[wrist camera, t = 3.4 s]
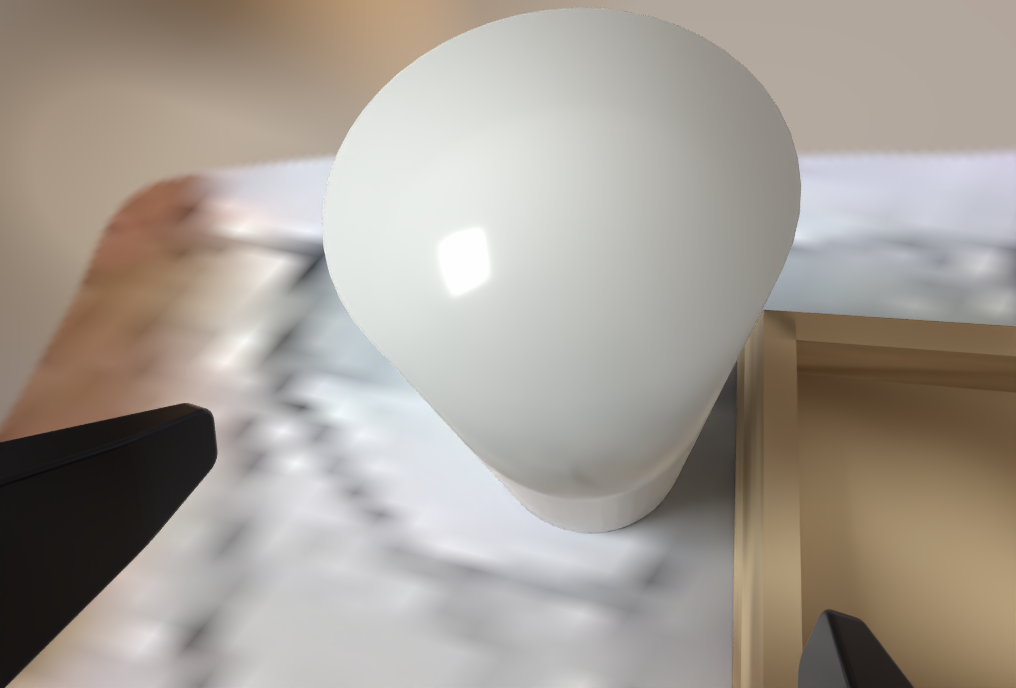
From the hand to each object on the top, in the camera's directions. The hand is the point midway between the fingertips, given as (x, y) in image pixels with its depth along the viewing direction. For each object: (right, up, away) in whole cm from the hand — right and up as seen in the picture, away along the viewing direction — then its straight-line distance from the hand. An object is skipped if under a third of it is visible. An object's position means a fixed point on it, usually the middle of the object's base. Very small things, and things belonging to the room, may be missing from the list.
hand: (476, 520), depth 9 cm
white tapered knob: (+3, 0, +11) cm, 11 cm away
